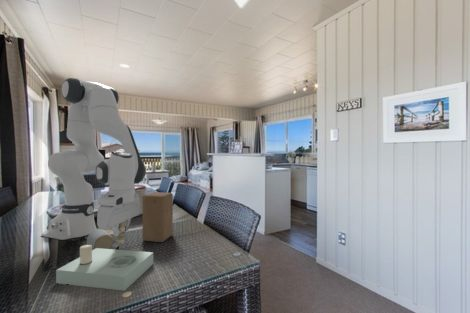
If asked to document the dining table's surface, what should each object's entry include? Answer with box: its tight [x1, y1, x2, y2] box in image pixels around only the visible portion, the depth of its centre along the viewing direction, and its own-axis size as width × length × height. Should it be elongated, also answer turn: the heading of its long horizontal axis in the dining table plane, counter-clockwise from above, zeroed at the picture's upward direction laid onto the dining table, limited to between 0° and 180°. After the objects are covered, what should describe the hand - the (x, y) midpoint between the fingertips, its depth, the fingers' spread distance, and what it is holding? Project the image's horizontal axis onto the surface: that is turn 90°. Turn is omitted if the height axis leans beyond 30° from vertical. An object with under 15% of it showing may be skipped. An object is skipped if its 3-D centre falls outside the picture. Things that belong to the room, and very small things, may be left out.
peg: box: [115, 221, 126, 245], centre depth 88 cm, size 3×3×9 cm
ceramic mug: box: [86, 228, 120, 250], centre depth 93 cm, size 11×8×8 cm
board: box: [55, 244, 154, 291], centre depth 75 cm, size 22×16×9 cm
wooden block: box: [141, 191, 174, 243], centre depth 106 cm, size 10×10×20 cm
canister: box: [134, 184, 148, 217], centre depth 144 cm, size 18×18×21 cm
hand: (121, 233), depth 88 cm, fingers closed on peg, 3 cm apart
